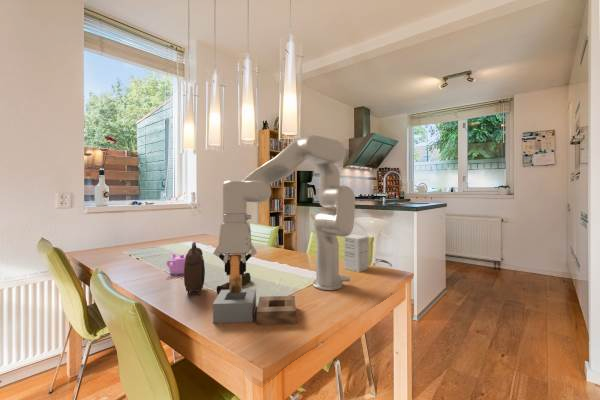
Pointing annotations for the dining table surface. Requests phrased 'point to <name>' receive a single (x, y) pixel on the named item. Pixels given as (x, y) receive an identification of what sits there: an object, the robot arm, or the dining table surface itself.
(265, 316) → the mount block
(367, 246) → the supplement box
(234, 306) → the socket block
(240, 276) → the pin
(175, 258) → the teapot
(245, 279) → the hand tool
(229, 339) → the dining table surface
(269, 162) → the robot arm
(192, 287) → the alarm clock
